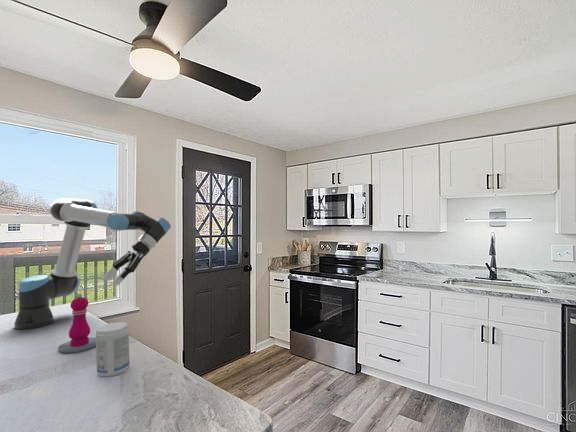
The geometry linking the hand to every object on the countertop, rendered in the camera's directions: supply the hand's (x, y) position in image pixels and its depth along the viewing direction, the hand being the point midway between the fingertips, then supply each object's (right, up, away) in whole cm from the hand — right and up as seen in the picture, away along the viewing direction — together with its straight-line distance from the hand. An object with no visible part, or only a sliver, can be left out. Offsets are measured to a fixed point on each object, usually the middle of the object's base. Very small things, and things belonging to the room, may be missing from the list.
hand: (109, 281), depth 139 cm
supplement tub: (+20, -23, -33) cm, 45 cm away
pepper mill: (-5, -23, -11) cm, 26 cm away
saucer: (-5, -23, -11) cm, 27 cm away
